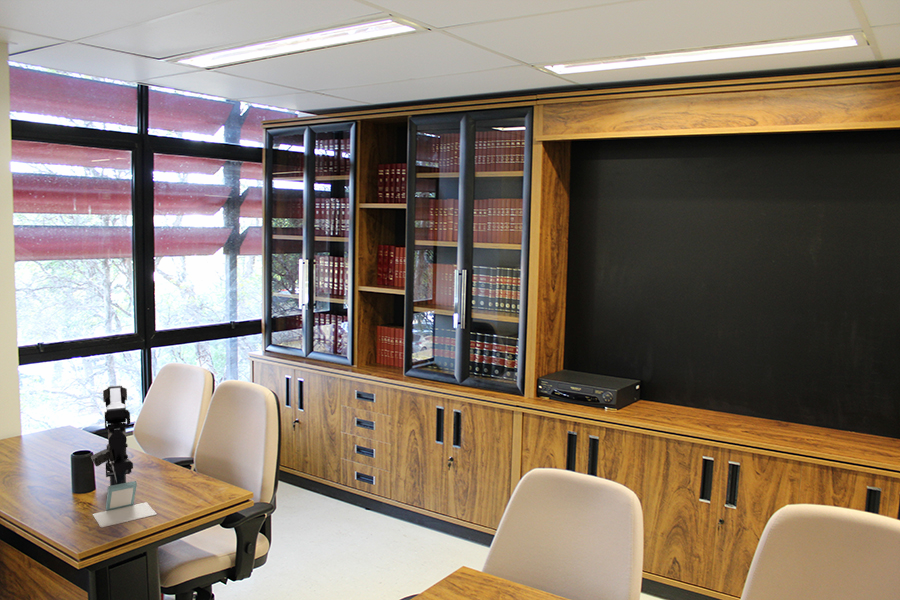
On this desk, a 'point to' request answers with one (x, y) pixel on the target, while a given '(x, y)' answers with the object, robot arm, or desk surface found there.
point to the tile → (121, 495)
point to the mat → (124, 514)
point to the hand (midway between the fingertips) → (118, 483)
